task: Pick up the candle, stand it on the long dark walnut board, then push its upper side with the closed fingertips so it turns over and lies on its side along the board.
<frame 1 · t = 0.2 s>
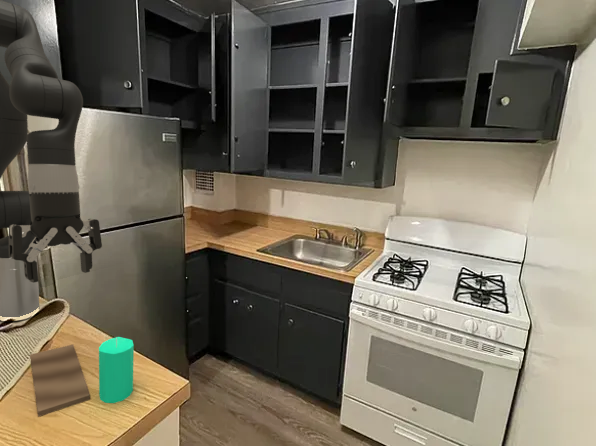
hand: (60, 276, 65), 23 cm above the counter, tool pointing down, fingers open, 8 cm apart
board: (58, 377, 71), on the counter
candle: (116, 393, 68), on the counter
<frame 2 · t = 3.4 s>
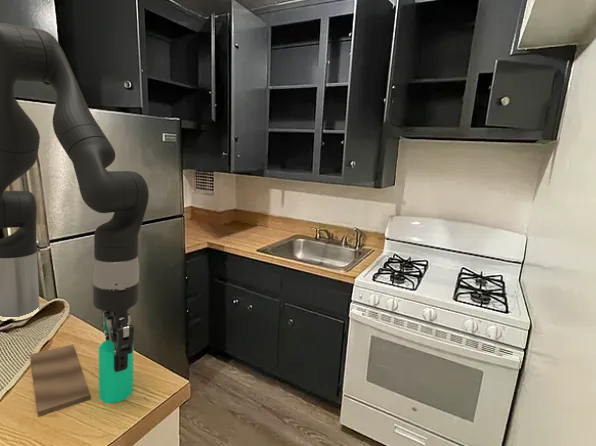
hand: (116, 360, 67), 7 cm above the counter, tool pointing down, fingers closed on candle, 6 cm apart
candle: (116, 393, 68), on the counter, touching gripper
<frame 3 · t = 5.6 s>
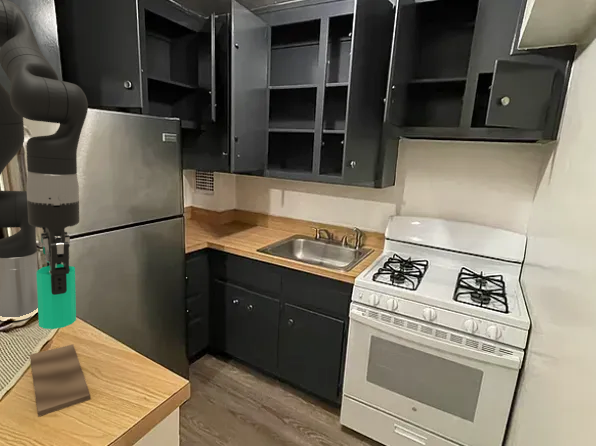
hand: (56, 286, 64), 21 cm above the counter, tool pointing down, fingers closed on candle, 6 cm apart
candle: (57, 322, 66), point 14 cm above the counter, touching gripper
when the fingers open (9 cm above the counter, at t = 8.3 s): candle stays where it is, resting on board.
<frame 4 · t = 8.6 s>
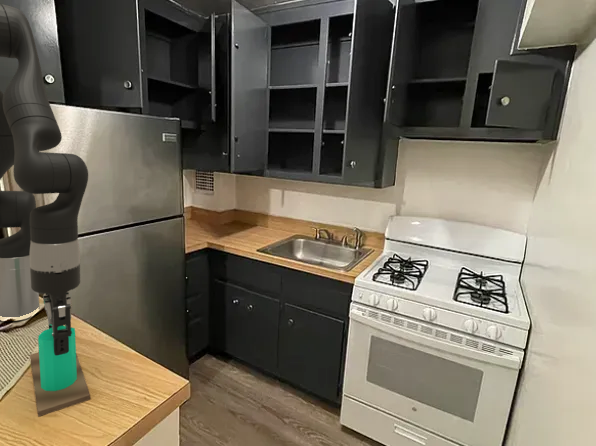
hand: (58, 342, 66), 10 cm above the counter, tool pointing down, fingers open, 8 cm apart
candle: (59, 381, 68), point 1 cm above the counter, touching board
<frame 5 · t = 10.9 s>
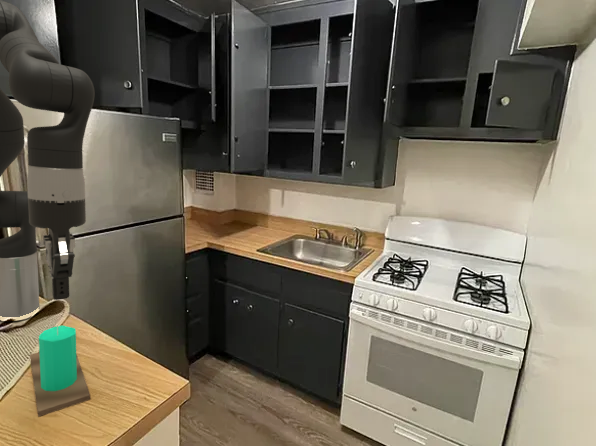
hand: (61, 297, 58), 22 cm above the counter, tool pointing down, fingers closed
nothing on the counter moved.
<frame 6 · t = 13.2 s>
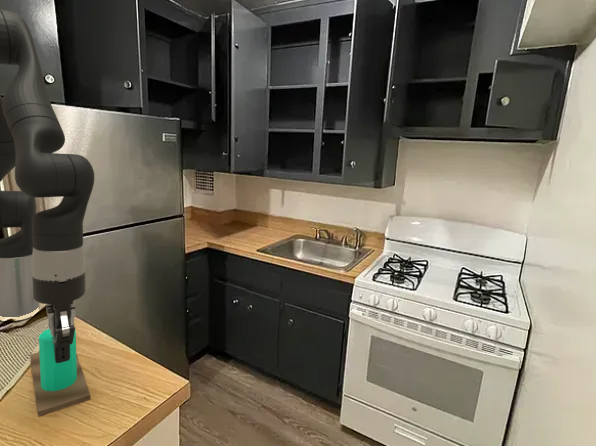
hand: (62, 359, 63), 9 cm above the counter, tool pointing down, fingers closed
candle: (59, 381, 68), point 1 cm above the counter, touching board, gripper
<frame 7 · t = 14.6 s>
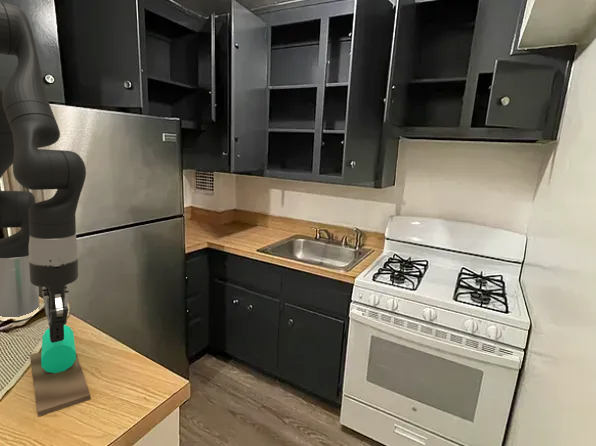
hand: (57, 339, 68), 9 cm above the counter, tool pointing down, fingers closed
candle: (58, 359, 70), point 4 cm above the counter, touching board
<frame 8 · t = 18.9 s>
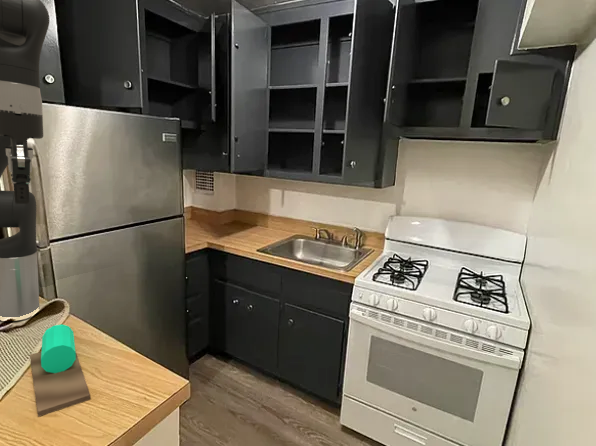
hand: (22, 203, 67), 35 cm above the counter, tool pointing down, fingers closed
nothing on the counter moved.
at the end: candle tilted 93°; candle inside the target area on the board (0.3 cm from its centre), point 3.9 cm above the board's base; the gripper is holding nothing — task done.
